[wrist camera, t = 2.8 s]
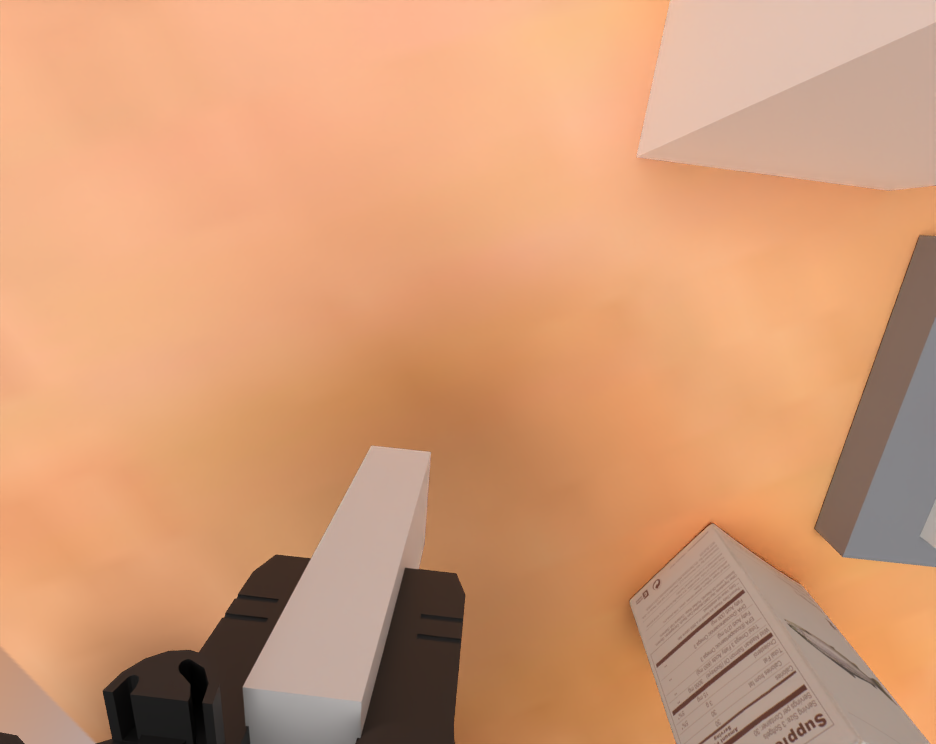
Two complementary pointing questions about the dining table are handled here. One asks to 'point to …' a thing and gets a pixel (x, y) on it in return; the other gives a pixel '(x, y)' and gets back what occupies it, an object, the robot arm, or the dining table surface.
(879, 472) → the breaker panel
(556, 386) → the dining table surface
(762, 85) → the milk
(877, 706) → the supplement box
